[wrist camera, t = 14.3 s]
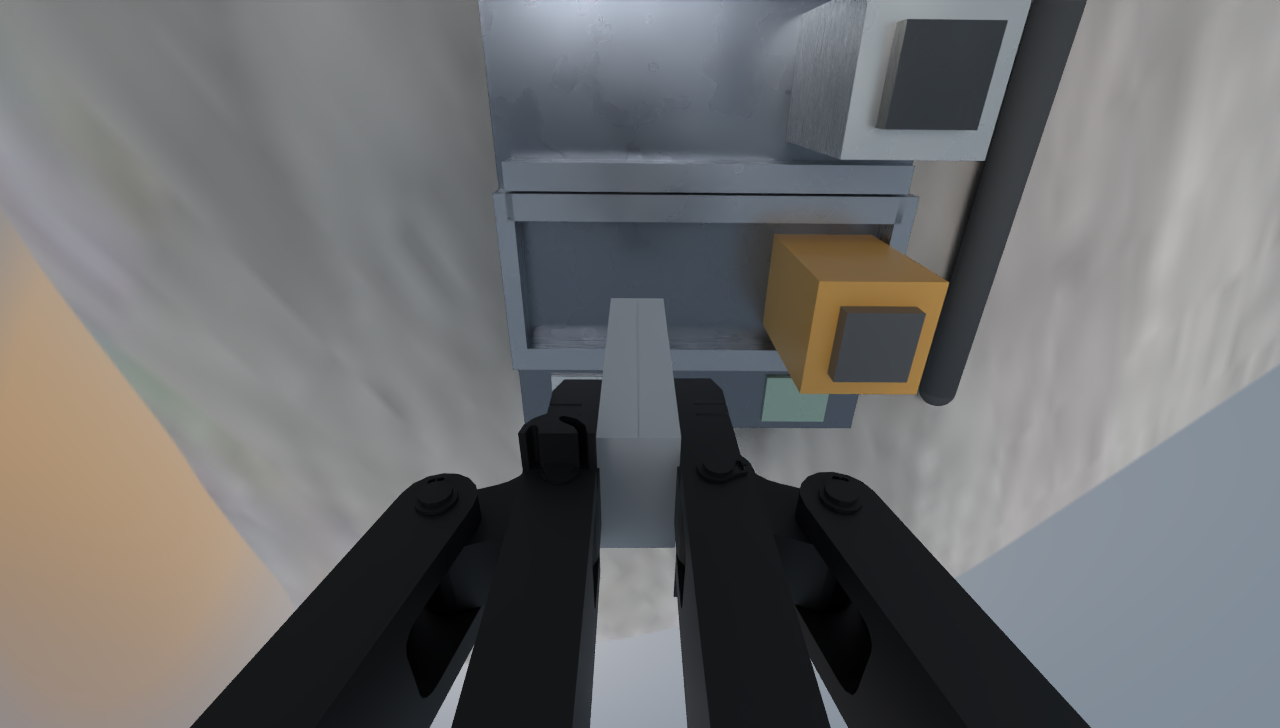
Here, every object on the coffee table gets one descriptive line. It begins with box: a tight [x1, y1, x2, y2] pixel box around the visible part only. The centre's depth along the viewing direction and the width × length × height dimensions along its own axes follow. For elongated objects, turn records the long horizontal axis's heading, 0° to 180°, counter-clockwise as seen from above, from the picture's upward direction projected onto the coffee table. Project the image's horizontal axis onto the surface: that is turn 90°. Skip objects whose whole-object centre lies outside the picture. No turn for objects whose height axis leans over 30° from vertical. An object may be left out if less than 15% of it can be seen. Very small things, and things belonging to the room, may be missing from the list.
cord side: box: [919, 0, 1087, 406], centre depth 23 cm, size 18×2×2 cm, turn 179°
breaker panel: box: [478, 0, 1032, 428], centre depth 19 cm, size 19×16×9 cm
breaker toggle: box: [763, 234, 949, 394], centre depth 19 cm, size 4×4×7 cm
